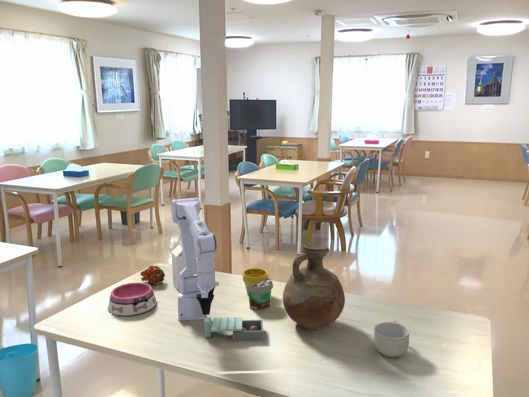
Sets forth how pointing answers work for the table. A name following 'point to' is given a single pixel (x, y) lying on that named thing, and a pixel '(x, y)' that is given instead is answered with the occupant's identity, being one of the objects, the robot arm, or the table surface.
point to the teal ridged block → (222, 325)
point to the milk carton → (177, 264)
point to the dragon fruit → (153, 275)
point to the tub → (249, 334)
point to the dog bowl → (132, 299)
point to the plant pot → (254, 276)
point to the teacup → (391, 338)
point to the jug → (313, 291)
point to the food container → (260, 294)
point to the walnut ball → (253, 328)
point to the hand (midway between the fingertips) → (207, 309)
